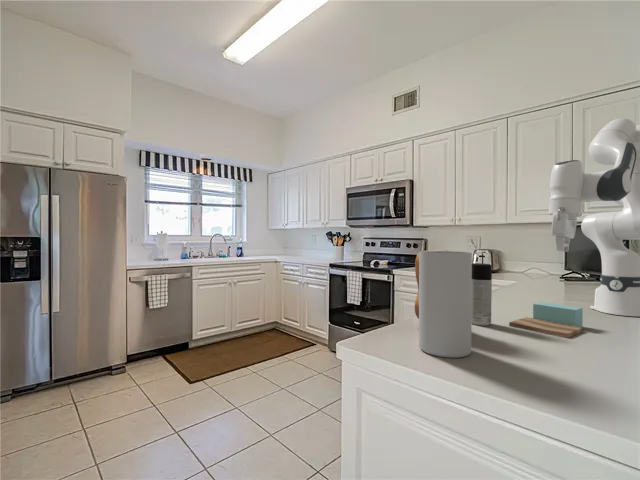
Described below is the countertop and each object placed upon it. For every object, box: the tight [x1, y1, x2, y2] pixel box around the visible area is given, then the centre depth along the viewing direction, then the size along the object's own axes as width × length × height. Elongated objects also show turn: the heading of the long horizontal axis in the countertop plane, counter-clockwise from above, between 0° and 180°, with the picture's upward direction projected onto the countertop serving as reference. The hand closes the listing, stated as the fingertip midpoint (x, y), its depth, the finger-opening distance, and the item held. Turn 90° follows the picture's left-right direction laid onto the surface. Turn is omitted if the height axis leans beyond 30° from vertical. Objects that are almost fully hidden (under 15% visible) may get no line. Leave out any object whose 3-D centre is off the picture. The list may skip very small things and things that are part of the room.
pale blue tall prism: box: [532, 301, 584, 327], centre depth 110 cm, size 6×12×6 cm, turn 35°
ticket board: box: [508, 316, 584, 339], centre depth 105 cm, size 12×16×1 cm
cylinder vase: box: [418, 250, 473, 359], centre depth 84 cm, size 12×12×25 cm
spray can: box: [471, 262, 493, 327], centre depth 111 cm, size 7×7×20 cm
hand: (562, 251), depth 109 cm, fingers open, 8 cm apart
